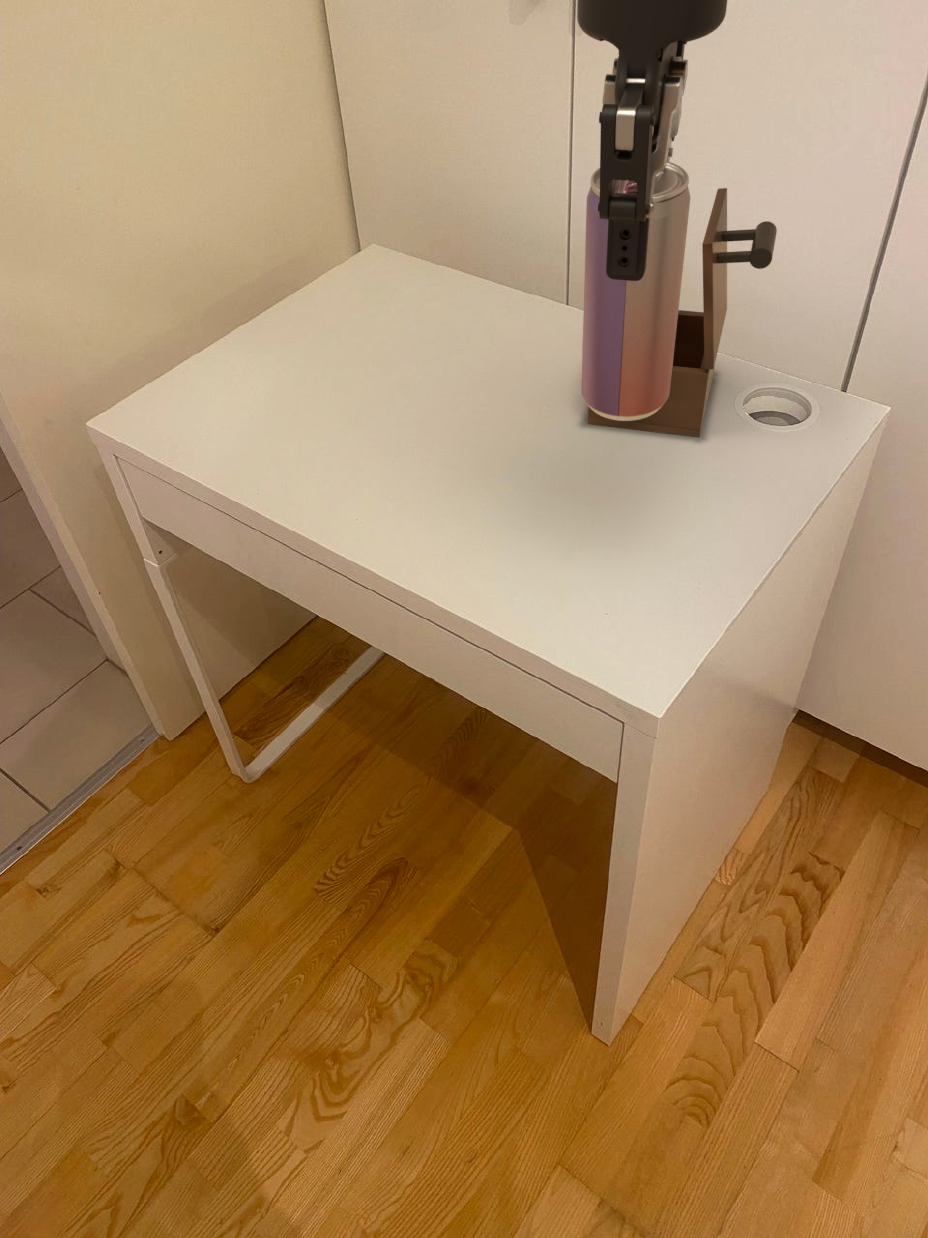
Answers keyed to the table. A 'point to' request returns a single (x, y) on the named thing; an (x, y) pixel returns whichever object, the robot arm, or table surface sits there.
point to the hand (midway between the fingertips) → (634, 250)
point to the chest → (678, 385)
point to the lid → (717, 267)
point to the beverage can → (634, 306)
